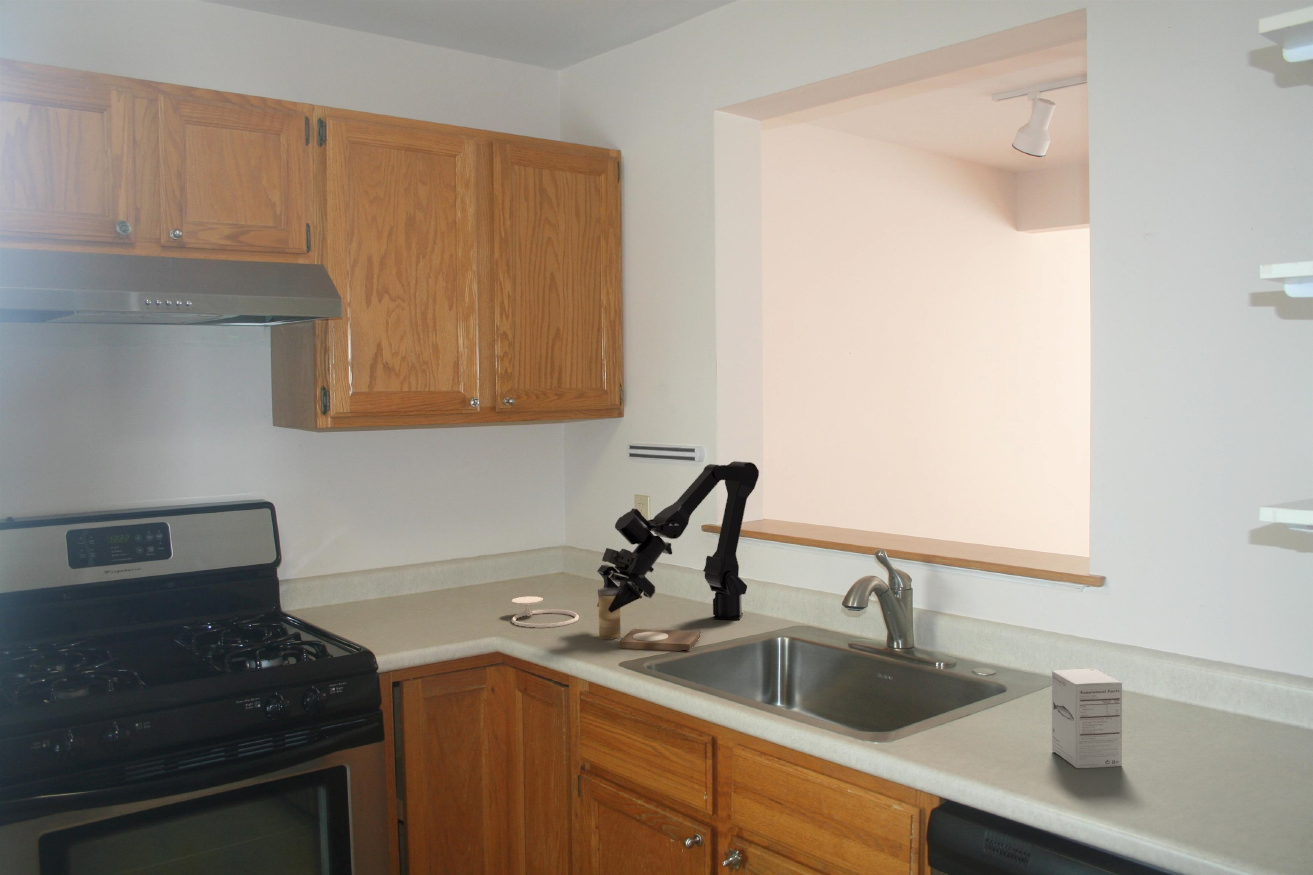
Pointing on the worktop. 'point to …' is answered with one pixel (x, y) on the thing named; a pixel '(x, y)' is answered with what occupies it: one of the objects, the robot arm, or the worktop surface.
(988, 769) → the worktop surface
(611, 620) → the tan jar with lid
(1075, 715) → the supplement box
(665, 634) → the walnut board
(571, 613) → the hand towel holder
